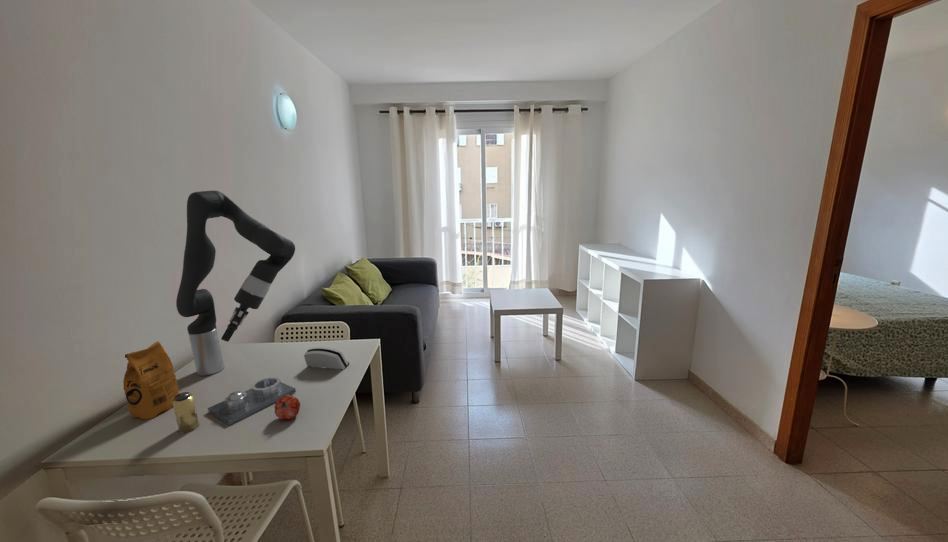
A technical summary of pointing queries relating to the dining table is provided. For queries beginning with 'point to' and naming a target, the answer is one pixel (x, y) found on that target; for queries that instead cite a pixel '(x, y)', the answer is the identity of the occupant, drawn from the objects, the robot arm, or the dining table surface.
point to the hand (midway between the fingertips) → (226, 337)
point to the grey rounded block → (325, 358)
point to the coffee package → (149, 382)
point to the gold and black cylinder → (185, 412)
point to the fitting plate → (250, 400)
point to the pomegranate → (287, 407)
